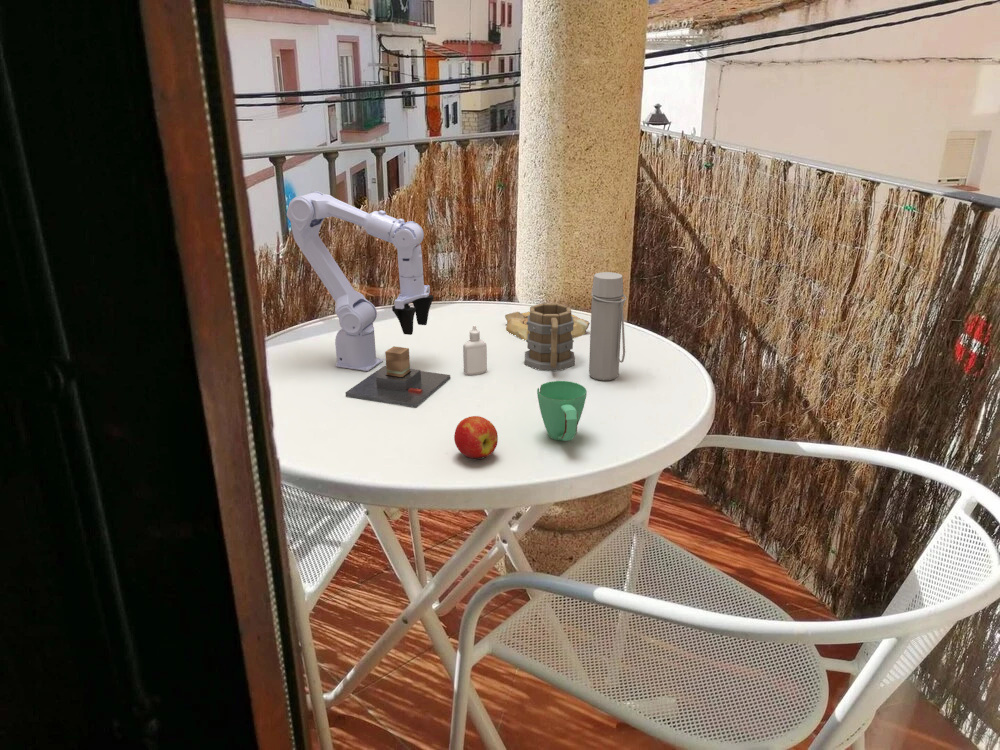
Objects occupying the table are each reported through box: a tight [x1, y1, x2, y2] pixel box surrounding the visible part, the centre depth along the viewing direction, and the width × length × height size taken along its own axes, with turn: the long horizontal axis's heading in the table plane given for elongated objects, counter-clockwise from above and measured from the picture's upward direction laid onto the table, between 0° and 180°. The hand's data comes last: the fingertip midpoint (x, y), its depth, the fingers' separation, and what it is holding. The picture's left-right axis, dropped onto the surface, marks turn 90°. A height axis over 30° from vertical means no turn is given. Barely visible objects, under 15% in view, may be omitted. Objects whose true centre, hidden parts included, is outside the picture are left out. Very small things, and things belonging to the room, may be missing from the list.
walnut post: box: [384, 346, 411, 377], centre depth 176 cm, size 4×4×6 cm
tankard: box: [524, 302, 576, 371], centre depth 188 cm, size 20×13×15 cm, turn 178°
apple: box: [453, 415, 499, 460], centre depth 145 cm, size 8×8×8 cm
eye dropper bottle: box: [462, 325, 488, 376], centre depth 185 cm, size 4×6×12 cm
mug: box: [536, 380, 588, 442], centre depth 151 cm, size 15×10×10 cm
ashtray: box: [504, 311, 591, 341], centre depth 217 cm, size 24×24×5 cm
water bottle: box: [588, 271, 627, 382], centre depth 179 cm, size 9×8×25 cm
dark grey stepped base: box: [345, 365, 451, 409], centre depth 178 cm, size 18×18×4 cm
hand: (415, 329), depth 186 cm, fingers open, 7 cm apart
